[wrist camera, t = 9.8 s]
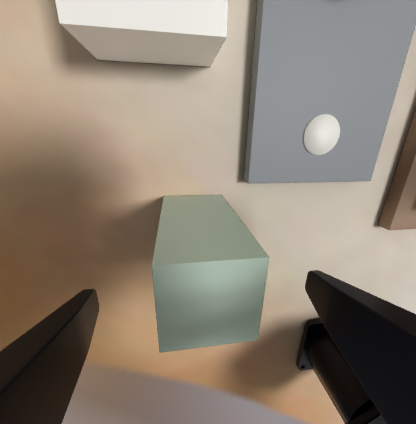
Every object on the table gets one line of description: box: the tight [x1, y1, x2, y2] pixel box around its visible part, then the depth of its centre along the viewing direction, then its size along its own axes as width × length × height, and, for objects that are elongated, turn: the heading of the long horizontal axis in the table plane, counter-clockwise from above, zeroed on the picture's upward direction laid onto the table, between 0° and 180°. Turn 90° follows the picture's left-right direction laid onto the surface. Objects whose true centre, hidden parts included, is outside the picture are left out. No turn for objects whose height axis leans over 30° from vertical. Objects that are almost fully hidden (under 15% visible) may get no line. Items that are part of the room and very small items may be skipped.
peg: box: [152, 195, 269, 353], centre depth 11 cm, size 4×4×8 cm
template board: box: [244, 0, 416, 183], centre depth 11 cm, size 14×9×3 cm, turn 0°
